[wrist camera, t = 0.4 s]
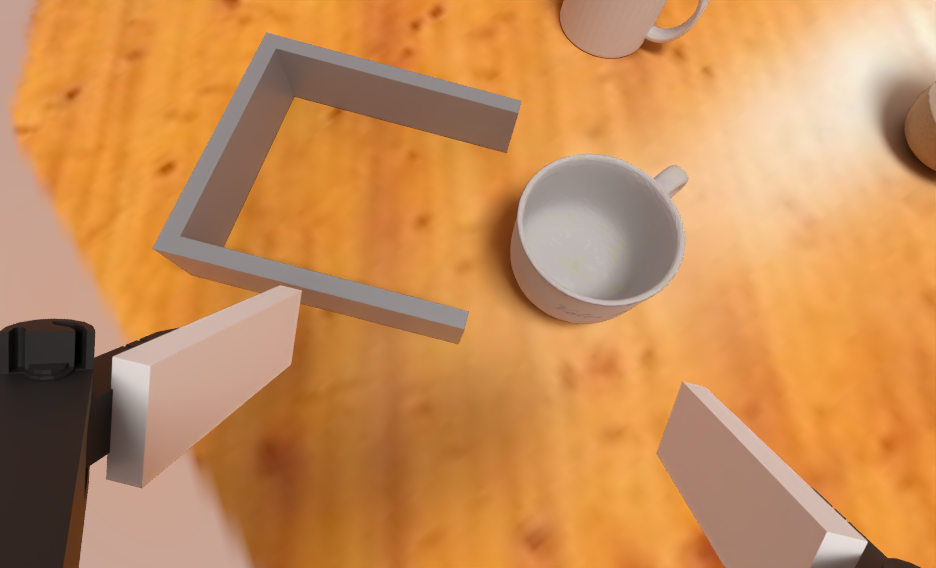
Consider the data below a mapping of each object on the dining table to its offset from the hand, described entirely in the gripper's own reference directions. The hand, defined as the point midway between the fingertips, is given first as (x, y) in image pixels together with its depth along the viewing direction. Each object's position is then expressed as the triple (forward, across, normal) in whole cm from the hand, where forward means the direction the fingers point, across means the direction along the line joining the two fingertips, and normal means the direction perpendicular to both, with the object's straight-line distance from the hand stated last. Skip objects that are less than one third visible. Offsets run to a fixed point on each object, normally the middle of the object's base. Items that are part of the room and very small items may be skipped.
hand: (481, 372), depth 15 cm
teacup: (+22, -7, -2) cm, 23 cm away
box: (+21, +11, -3) cm, 24 cm away
